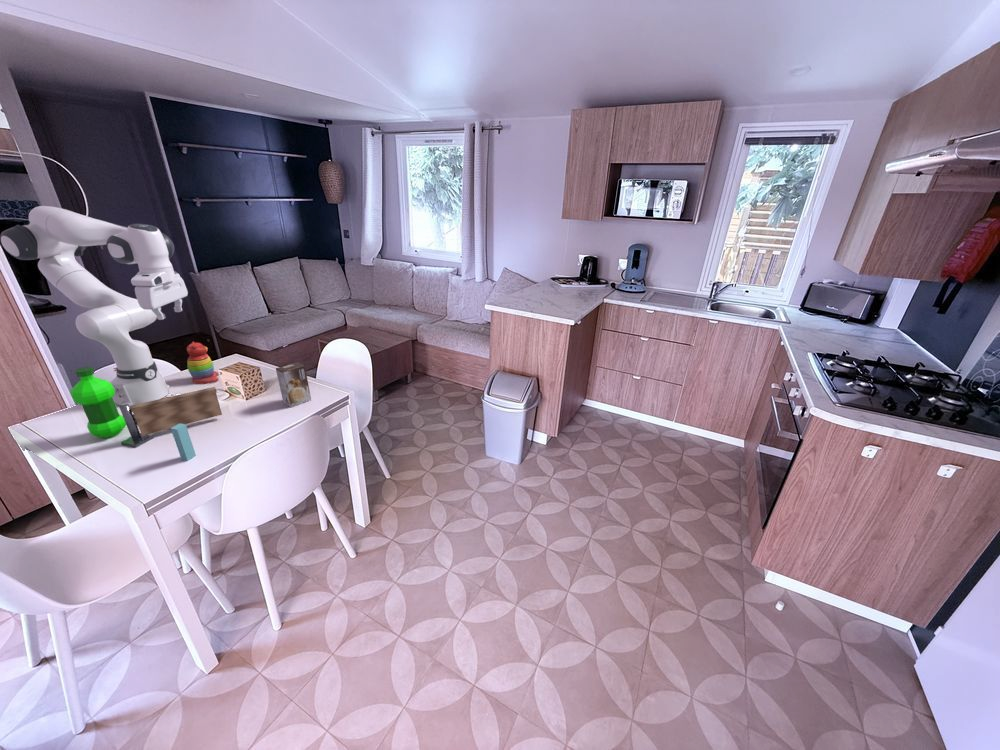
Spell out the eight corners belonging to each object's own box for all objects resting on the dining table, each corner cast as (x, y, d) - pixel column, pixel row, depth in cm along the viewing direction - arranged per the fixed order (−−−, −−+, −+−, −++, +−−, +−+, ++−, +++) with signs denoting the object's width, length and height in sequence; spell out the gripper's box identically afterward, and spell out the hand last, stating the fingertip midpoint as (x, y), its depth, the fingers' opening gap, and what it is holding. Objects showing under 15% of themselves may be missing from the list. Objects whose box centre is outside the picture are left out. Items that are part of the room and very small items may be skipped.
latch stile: (181, 459, 130) (170, 428, 125) (189, 454, 132) (179, 423, 127) (187, 460, 129) (176, 429, 124) (196, 455, 132) (185, 424, 127)
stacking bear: (218, 382, 180) (208, 345, 173) (191, 386, 175) (179, 348, 168) (218, 373, 189) (209, 337, 181) (192, 377, 184) (181, 340, 176)
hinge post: (121, 444, 135) (106, 408, 130) (139, 435, 141) (126, 400, 135) (136, 447, 134) (121, 411, 128) (153, 437, 140) (140, 402, 134)
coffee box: (303, 395, 173) (297, 361, 166) (311, 400, 169) (305, 365, 163) (282, 403, 166) (275, 367, 159) (290, 408, 162) (283, 372, 156)
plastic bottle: (83, 443, 135) (52, 377, 124) (102, 427, 144) (75, 364, 134) (119, 440, 137) (92, 374, 127) (136, 424, 147) (111, 362, 136)
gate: (141, 436, 137) (130, 408, 132) (140, 433, 138) (129, 405, 134) (223, 414, 152) (215, 389, 147) (221, 412, 153) (214, 386, 149)
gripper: (167, 269, 143) (178, 307, 149) (126, 281, 125) (140, 323, 131) (186, 270, 144) (197, 307, 150) (148, 281, 126) (161, 324, 131)
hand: (170, 315), depth 140 cm, fingers open, 8 cm apart
